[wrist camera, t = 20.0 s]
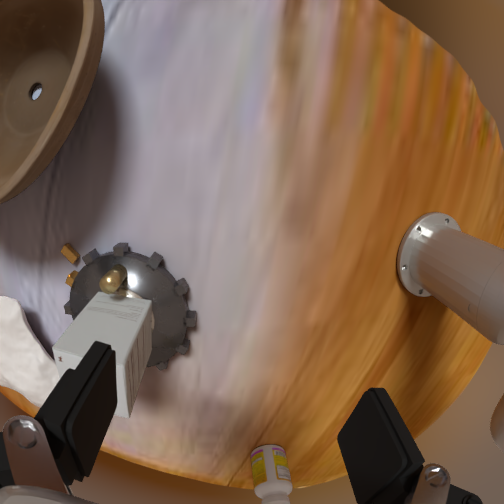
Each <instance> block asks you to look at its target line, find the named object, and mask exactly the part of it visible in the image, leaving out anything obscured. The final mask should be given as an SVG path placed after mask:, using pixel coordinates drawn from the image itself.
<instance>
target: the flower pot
mask: <svg viewBox="0 0 504 504" xmlns="http://www.w3.org/2000/svg"><path fill="white" fill-rule="evenodd" d="M104 28H105V21H104V11H103V6H102V3H101V0H0V204H1V203H4V202H6V201H8V200H10V199H12V198H14V197H15V196H17V195H18V194H19V193H21V192H22V191H24V190H25V189H26V188H27V187H28V186H29V185H30V184H31V183H33V182H34V181H35V180H36V179H37V178H38V177H39V176H40V174H41V173H42V172H43V171H44V170H45V169H46V167H47V166H48V165H49V164H50V162H51V161H52V160H53V158H54V157H55V155H56V154H57V153H58V151H59V150H60V148H61V147H62V145H63V143H64V142H65V140H66V139H67V137H68V135H69V134H70V132H71V130H72V128H73V127H74V125H75V123H76V121H77V119H78V117H79V115H80V113H81V111H82V109H83V107H84V104H85V102H86V99H87V97H88V95H89V92H90V90H91V87H92V84H93V81H94V78H95V75H96V72H97V69H98V65H99V61H100V58H101V53H102V48H103V41H104ZM38 84H41V85H42V92H41V94H40V96H39V97H38V98H37V99H35V100H33V99H32V96H31V94H32V91H33V89H34V87H35V86H37V85H38Z"/></svg>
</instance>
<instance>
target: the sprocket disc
mask: <svg viewBox="0 0 504 504" xmlns="http://www.w3.org/2000/svg"><path fill="white" fill-rule="evenodd" d="M113 250H114V251H113V252H108V253H105V254H102V255H100V256H99V254H98V252H97V251H96V249H94V250H92V251H91V252H89V253H88V254H86V255H85V256H84V257H82V259H83V260H84V262H85V264H86V266H84V267H83V268H82V269H81V270H80V271H79V273H78V272H77V271H75V270H74V271H73V272H72V273H70V274H69V275H68V277H67V279H66V282H65V283H66V284H68V285H69V286H70V287H71V292H70V300H69V301H68V302H67V303H66V304H65V305H64V309H65V314H70V315H72V318H73V320H75V318H76V317H77V316H78V315H79V314H80V312H81V311H82V310H83V309H84V308H85V307H86V305H87V304H88V303H89V302H90V301H91V300H92V298H93V297H94V296H95V295H96V294H97V293H98V292H103V293H106V294H115V295H121V296H127V297H133V298H139V299H145V300H151V301H152V351H151V354H150V357H149V359H148V362H147V365H146V367H150V366H155V365H156V367H157V368H158V369H159V370H163V369H166V368H167V365H168V361H169V358H171V357H172V356H173V355H174V354H175V353H176V352H179V353H181V354H183V355H184V354H185V353H186V352H187V350H188V348H189V343H190V340H188V339H186V338H185V334H186V329H187V327H195V323H196V311H190V310H188V306H187V302H186V298H185V296H184V294H185V293H187V290H188V287H189V285H188V284H187V282H186V280H185V279H184V278H182V279H180V280H178V281H176V280H175V278H174V277H173V276H172V275H171V274H170V273H169V272H168V271H167V270H166V269H165V268H164V267H163V266H162V265H160V262H161V260H162V258H163V256H161V255H159V254H158V253H156V252H154V253H153V255H152V256H151V257H150V258H149V257H147V256H144V255H142V254H139V253H135V252H129V251H128V243H118V244H117V245H115V246H114V247H113Z"/></svg>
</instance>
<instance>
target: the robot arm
mask: <svg viewBox="0 0 504 504" xmlns="http://www.w3.org/2000/svg"><path fill="white" fill-rule="evenodd" d="M397 270H398V275H399V278H400V281H401V283H402V284H403V286H404V287H405V288H406V289H407V290H408V291H409V292H411V293H412V294H414V295H416V296H420V297H428V296H434V297H435V298H436V299H438V300H439V301H440V302H442V303H443V304H444V305H446V306H447V307H448V308H449V309H451V310H452V311H453V312H454V313H456V314H457V315H458V316H460V317H461V318H462V319H463V320H465V321H466V322H467V323H468V324H470V325H471V326H472V327H473V328H474V329H476V330H477V331H478V332H479V333H481V334H482V335H483V336H484V337H486V338H487V339H488V340H490V341H491V342H493V343H496V344H500V345H504V249H501V248H499V247H497V246H494V245H492V244H490V243H487V242H485V241H483V240H480V239H478V238H475V237H473V236H470V235H468V234H465V233H463V232H461V229H460V227H459V225H458V224H457V222H456V221H455V220H454V219H453V218H452V217H450V216H448V215H446V214H443V213H439V212H433V213H428V214H426V215H423V216H422V217H420V218H419V219H417V220H416V221H415V222H414V223H413V224H412V225H411V226H410V228H409V229H408V230H407V232H406V233H405V235H404V237H403V239H402V242H401V245H400V247H399V252H398V256H397ZM117 402H118V399H117V381H116V352H115V350H112V348H111V345H109V344H106V343H103V342H100V341H95V342H94V343H93V344H92V346H91V347H90V348H89V350H88V351H87V353H86V354H85V355H84V357H83V358H82V360H81V361H80V363H79V364H78V366H77V367H76V369H75V370H74V369H71V368H69V369H67V370H66V371H65V373H64V374H63V376H62V377H61V378H60V380H59V381H58V383H57V384H56V386H55V387H54V389H53V390H52V392H51V393H50V395H49V396H48V398H47V399H46V401H45V402H44V404H43V405H42V407H41V408H40V410H39V411H38V413H37V414H36V416H35V417H34V419H33V418H31V417H28V416H15V417H13V418H11V419H9V420H8V421H7V422H6V423H5V425H4V428H3V432H0V504H97V503H94V502H91V501H87V500H84V499H81V498H79V497H75V496H74V495H73V493H72V491H71V489H70V487H69V485H72V483H73V480H74V479H75V480H78V481H80V482H82V480H83V478H84V476H86V477H89V475H90V473H91V470H92V468H93V465H94V463H95V460H96V457H97V455H98V452H99V450H100V447H101V445H102V442H103V440H104V437H105V435H106V432H107V430H108V427H109V425H110V423H111V420H112V418H113V415H114V413H115V411H116V408H117ZM490 431H491V435H492V438H493V440H494V442H495V444H496V445H497V446H498V447H499V449H500V450H501V451H502V452H504V394H503V396H502V397H501V399H500V401H499V402H498V404H497V406H496V408H495V410H494V412H493V415H492V418H491V423H490ZM337 440H338V444H339V447H340V450H341V453H342V457H343V460H344V463H345V466H346V469H347V472H348V475H349V479H350V482H351V485H352V488H353V491H354V495H355V498H356V501H357V503H358V504H482V501H481V499H480V498H479V497H478V496H477V495H475V494H473V493H470V492H468V491H465V490H463V489H461V488H458V487H456V486H454V485H452V484H450V475H449V473H448V471H447V470H446V469H445V468H444V467H443V466H441V465H439V464H435V463H432V464H427V465H426V466H425V467H423V465H422V464H423V463H424V462H425V460H424V458H423V456H422V454H421V452H420V451H419V449H418V447H417V445H416V443H415V441H414V439H413V438H412V436H411V434H410V432H409V430H408V428H407V427H406V425H405V423H404V421H403V419H402V418H401V416H400V414H399V412H398V411H397V409H396V407H395V405H394V403H393V402H392V400H391V398H390V396H389V395H388V393H387V391H386V390H385V389H384V388H370V389H368V391H366V392H364V394H363V395H362V397H361V399H360V401H359V402H358V404H357V405H356V407H355V409H354V410H353V412H352V414H351V415H350V417H349V418H348V420H347V421H346V423H345V425H344V426H343V428H342V429H341V431H340V432H339V434H338V438H337Z"/></svg>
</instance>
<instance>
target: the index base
mask: <svg viewBox="0 0 504 504" xmlns="http://www.w3.org/2000/svg"><path fill="white" fill-rule="evenodd" d="M61 253H62V254H63V255H64V256H65V257H66V258H67V259H68V260H69V261H70V262H71V263H72V264H73V263H75V262H76V261H77V259H78V258H79V256H80V255H79V254H78V253H77V252H76V251H75V250H74V249H73V248H72V247H71V246H70V245H69V244H68V243H67V244H66V245H64V247H63V248H62V250H61Z"/></svg>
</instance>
